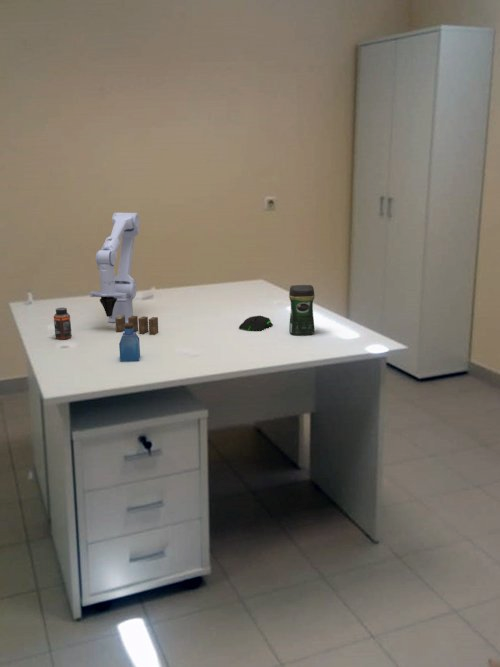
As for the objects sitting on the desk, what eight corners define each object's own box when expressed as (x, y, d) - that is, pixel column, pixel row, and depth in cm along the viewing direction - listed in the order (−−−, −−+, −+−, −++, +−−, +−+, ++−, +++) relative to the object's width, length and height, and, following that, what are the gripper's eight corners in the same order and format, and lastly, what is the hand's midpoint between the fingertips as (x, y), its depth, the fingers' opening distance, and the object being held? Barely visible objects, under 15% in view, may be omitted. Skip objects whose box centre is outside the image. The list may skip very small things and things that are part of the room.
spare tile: (116, 332, 276) (115, 317, 274) (121, 329, 280) (120, 314, 278) (120, 332, 275) (119, 317, 274) (125, 330, 279) (124, 315, 277)
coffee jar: (312, 330, 277) (313, 282, 272) (315, 335, 269) (316, 287, 264) (287, 330, 276) (288, 283, 271) (289, 336, 269) (290, 287, 264)
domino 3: (149, 334, 272) (148, 319, 270) (153, 332, 276) (153, 317, 274) (154, 335, 271) (153, 319, 270) (158, 332, 275) (157, 317, 273)
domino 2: (139, 334, 273) (138, 318, 272) (143, 331, 277) (143, 316, 275) (143, 334, 273) (143, 319, 271) (148, 331, 276) (147, 316, 275)
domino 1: (128, 333, 274) (128, 318, 273) (133, 330, 278) (132, 315, 276) (133, 333, 274) (132, 318, 272) (138, 330, 277) (137, 315, 276)
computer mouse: (278, 323, 289) (278, 314, 288) (263, 333, 274) (263, 323, 273) (252, 321, 293) (252, 311, 292) (236, 330, 278) (236, 320, 277)
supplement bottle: (74, 336, 270) (72, 307, 267) (66, 340, 265) (63, 310, 262) (61, 335, 272) (58, 306, 269) (52, 339, 267) (49, 309, 264)
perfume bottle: (121, 356, 245) (119, 322, 242) (140, 355, 245) (138, 321, 242) (120, 361, 239) (118, 327, 236) (138, 361, 240) (137, 326, 236)
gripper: (85, 282, 272) (87, 317, 276) (119, 284, 268) (121, 319, 271) (94, 279, 279) (96, 313, 282) (128, 280, 274) (129, 315, 278)
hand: (109, 316), depth 277 cm, fingers closed
